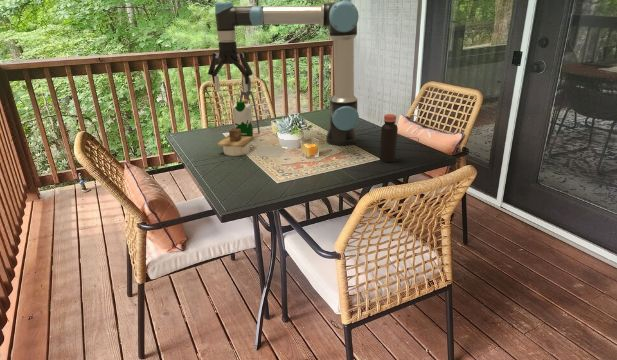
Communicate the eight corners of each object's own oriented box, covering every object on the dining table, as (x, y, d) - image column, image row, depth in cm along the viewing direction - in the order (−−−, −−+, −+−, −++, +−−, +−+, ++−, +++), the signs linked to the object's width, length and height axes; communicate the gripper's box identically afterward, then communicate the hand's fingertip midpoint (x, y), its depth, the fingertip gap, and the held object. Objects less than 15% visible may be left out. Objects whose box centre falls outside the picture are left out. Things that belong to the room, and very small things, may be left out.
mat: (289, 147, 201) (289, 146, 201) (279, 158, 188) (279, 157, 188) (260, 145, 205) (260, 144, 205) (248, 155, 192) (248, 154, 191)
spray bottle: (259, 133, 224) (255, 77, 212) (238, 134, 224) (233, 77, 212) (261, 128, 233) (258, 74, 221) (241, 129, 233) (237, 74, 221)
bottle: (385, 156, 187) (388, 112, 179) (398, 160, 183) (401, 115, 175) (376, 160, 183) (378, 115, 175) (389, 164, 178) (392, 118, 171)
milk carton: (234, 142, 211) (230, 103, 203) (238, 137, 219) (235, 99, 211) (251, 142, 210) (248, 103, 202) (255, 137, 218) (252, 99, 210)
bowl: (253, 149, 200) (252, 139, 198) (243, 157, 190) (242, 147, 188) (230, 147, 203) (229, 137, 201) (219, 155, 193) (218, 145, 191)
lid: (254, 138, 199) (253, 126, 196) (243, 147, 187) (242, 134, 185) (228, 137, 202) (227, 125, 199) (216, 145, 190) (215, 133, 188)
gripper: (257, 40, 177) (261, 90, 186) (204, 40, 183) (210, 88, 192) (251, 42, 171) (254, 93, 179) (196, 42, 177) (202, 92, 185)
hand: (231, 91), depth 185 cm, fingers open, 13 cm apart
